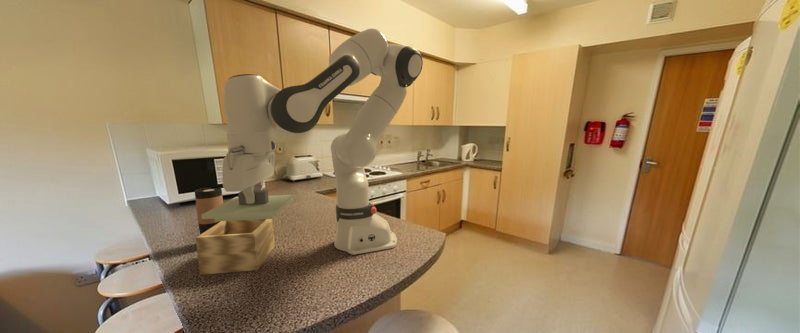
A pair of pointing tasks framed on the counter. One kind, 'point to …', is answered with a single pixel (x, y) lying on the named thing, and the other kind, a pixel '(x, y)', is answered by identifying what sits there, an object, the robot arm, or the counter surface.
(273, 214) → the lid
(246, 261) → the box
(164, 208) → the counter surface
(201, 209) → the travel mug
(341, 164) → the robot arm
